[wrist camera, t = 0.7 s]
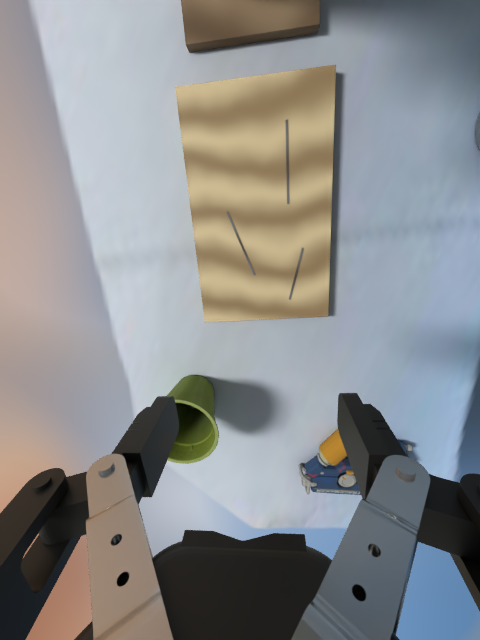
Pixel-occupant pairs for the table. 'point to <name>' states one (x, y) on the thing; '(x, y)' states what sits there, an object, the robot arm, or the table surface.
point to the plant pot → (194, 420)
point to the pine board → (261, 192)
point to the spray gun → (332, 469)
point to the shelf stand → (246, 21)
